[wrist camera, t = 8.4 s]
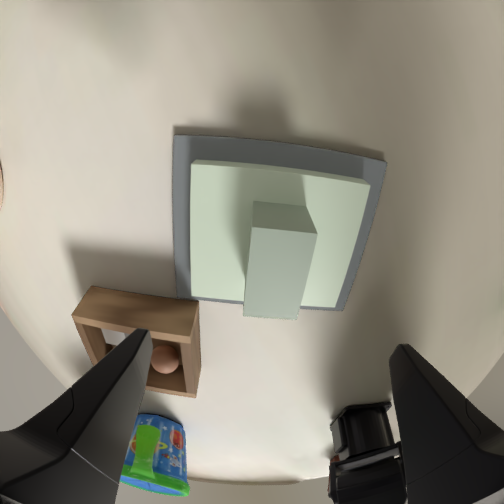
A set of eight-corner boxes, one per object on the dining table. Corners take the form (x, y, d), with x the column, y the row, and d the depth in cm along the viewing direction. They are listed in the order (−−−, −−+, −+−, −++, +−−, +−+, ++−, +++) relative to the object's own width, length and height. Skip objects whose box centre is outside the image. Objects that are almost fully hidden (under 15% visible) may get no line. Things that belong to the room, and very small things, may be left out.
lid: (363, 179, 15) (395, 207, 11) (331, 296, 19) (345, 342, 15) (195, 159, 15) (174, 182, 11) (194, 284, 19) (181, 331, 15)
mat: (384, 161, 15) (387, 162, 14) (341, 307, 20) (342, 311, 20) (175, 134, 14) (173, 135, 14) (178, 293, 20) (177, 297, 19)
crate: (198, 301, 20) (189, 336, 17) (201, 366, 24) (195, 398, 21) (91, 286, 20) (71, 314, 17) (111, 350, 24) (99, 378, 21)
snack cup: (188, 447, 36) (181, 501, 28) (125, 430, 35) (112, 482, 26) (207, 412, 29) (198, 489, 20) (120, 387, 27) (97, 461, 19)
